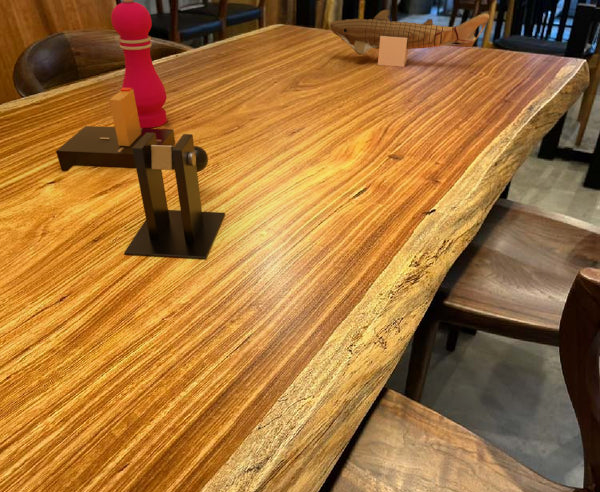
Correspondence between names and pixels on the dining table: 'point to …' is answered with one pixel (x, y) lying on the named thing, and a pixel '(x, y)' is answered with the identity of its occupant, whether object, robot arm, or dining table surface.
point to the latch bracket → (172, 223)
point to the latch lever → (164, 157)
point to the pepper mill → (140, 62)
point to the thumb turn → (125, 116)
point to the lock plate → (104, 148)
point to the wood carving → (403, 35)
